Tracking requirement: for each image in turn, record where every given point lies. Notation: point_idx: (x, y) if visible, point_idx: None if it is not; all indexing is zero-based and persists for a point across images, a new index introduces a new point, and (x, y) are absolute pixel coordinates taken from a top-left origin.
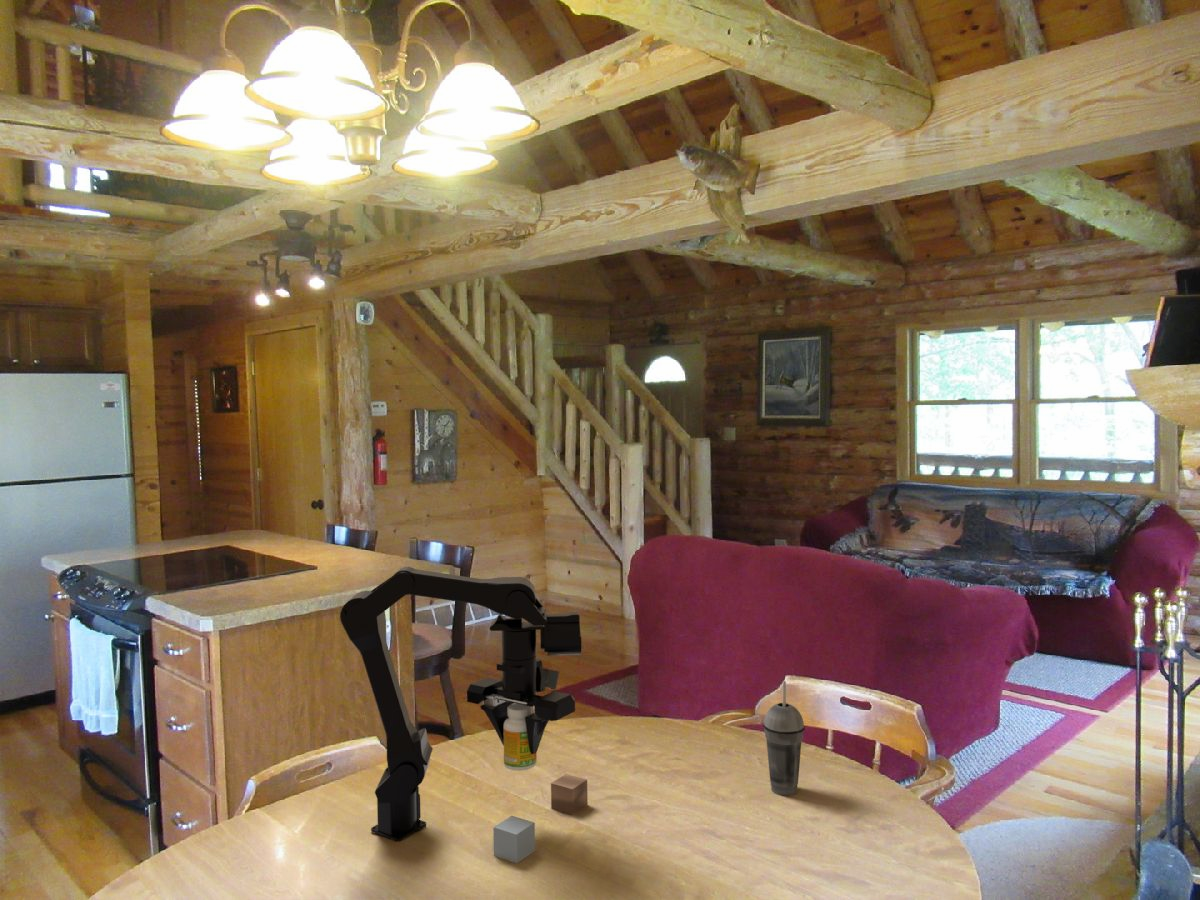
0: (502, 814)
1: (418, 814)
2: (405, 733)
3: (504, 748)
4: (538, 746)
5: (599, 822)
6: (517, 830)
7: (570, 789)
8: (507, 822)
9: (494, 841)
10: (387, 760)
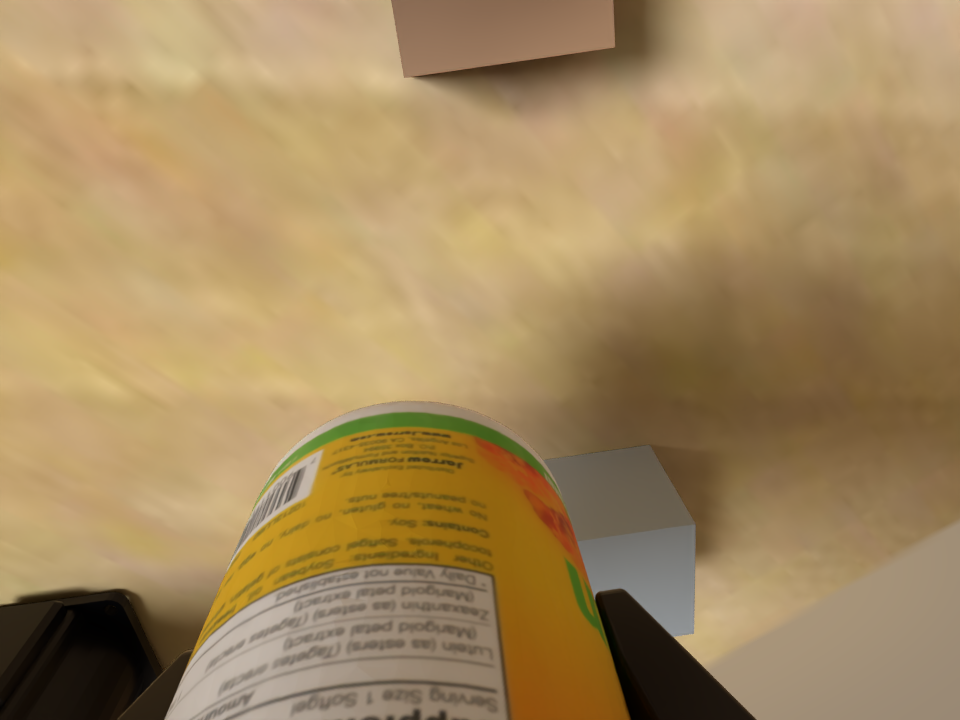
0: (262, 313)
1: (65, 638)
2: None
3: None
4: (668, 636)
5: (765, 25)
6: (673, 612)
7: (593, 49)
8: None
9: None
10: None
